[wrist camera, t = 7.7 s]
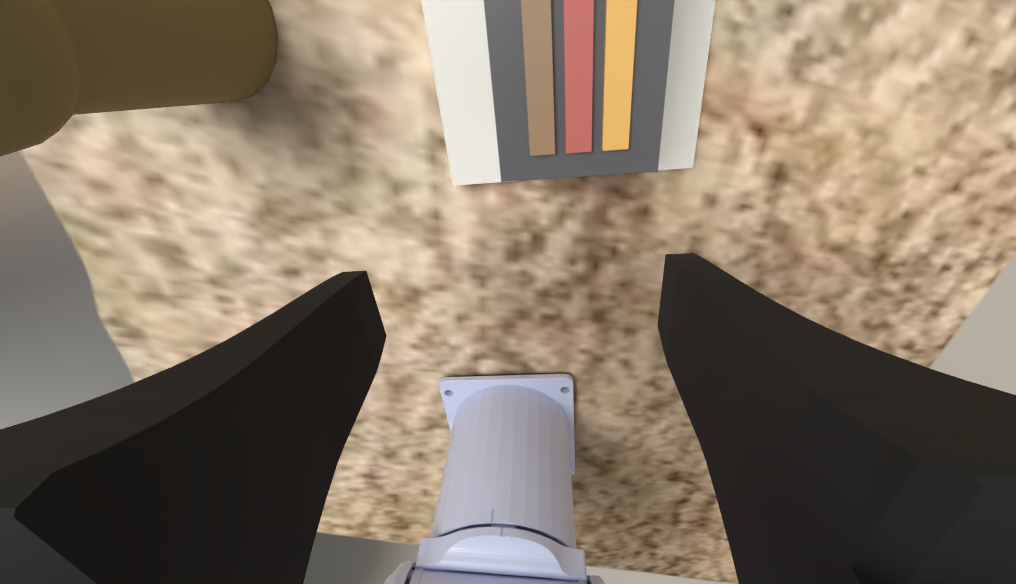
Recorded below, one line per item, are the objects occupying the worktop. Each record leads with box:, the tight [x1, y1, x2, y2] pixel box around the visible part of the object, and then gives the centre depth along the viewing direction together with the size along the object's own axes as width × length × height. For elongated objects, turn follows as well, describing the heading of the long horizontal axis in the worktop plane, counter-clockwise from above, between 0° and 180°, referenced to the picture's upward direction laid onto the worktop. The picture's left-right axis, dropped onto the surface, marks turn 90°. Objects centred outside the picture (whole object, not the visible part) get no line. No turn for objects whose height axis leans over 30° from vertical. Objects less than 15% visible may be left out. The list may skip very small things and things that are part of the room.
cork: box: [0, 0, 277, 156], centre depth 12 cm, size 6×6×11 cm
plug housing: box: [484, 0, 675, 182], centre depth 13 cm, size 8×4×6 cm, turn 5°
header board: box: [421, 0, 716, 186], centre depth 15 cm, size 12×10×4 cm
